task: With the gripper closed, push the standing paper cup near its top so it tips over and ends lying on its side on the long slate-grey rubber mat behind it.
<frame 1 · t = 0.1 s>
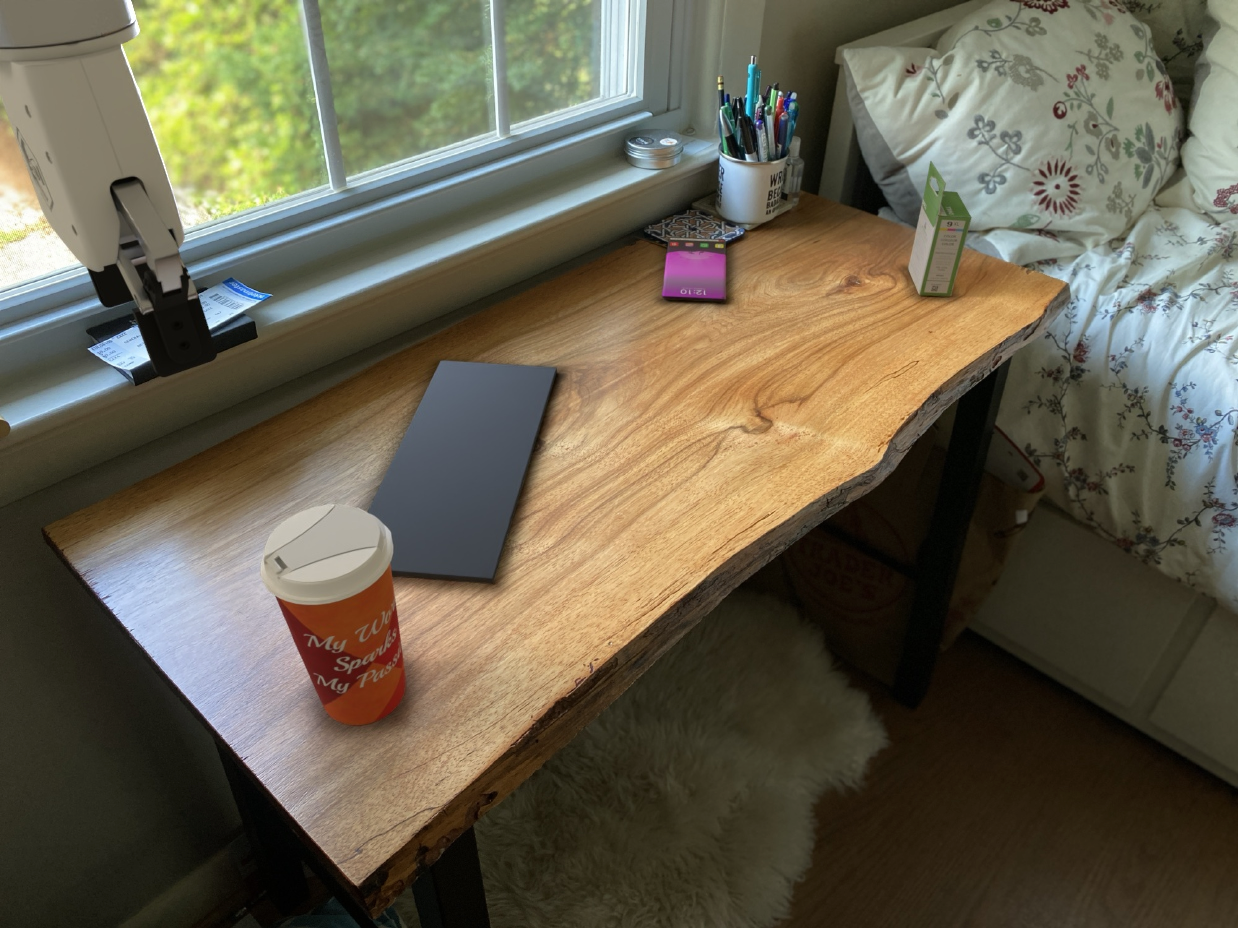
hand: (157, 331, 53), 24 cm above the table, tool pointing down, fingers open, 9 cm apart
smartphone: (695, 273, 112), on the table
paper cup: (366, 692, 63), on the table
ink box: (929, 284, 109), on the table
mat: (463, 458, 83), on the table
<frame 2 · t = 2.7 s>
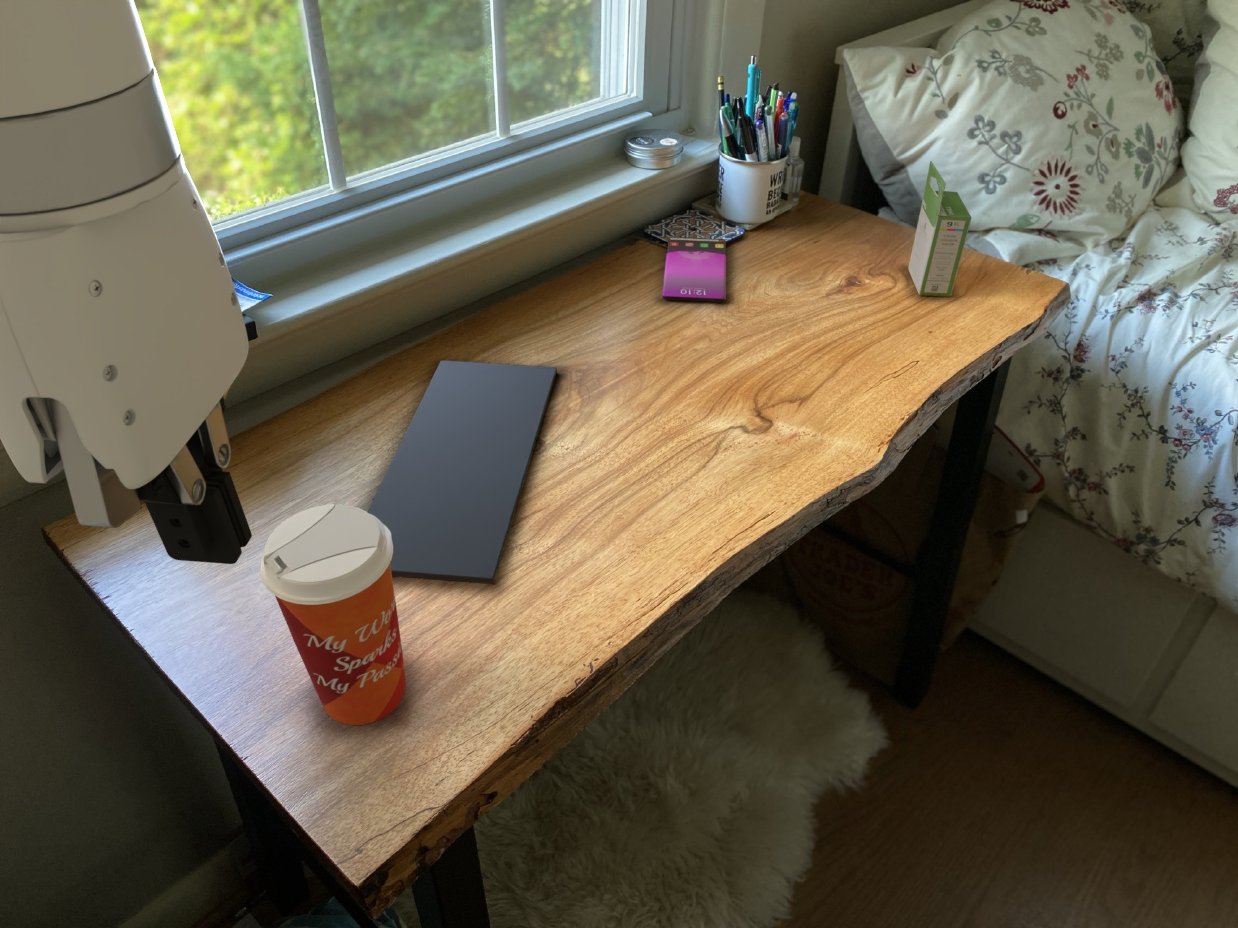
hand: (212, 548, 42), 23 cm above the table, tool pointing down, fingers closed
nothing on the table moved.
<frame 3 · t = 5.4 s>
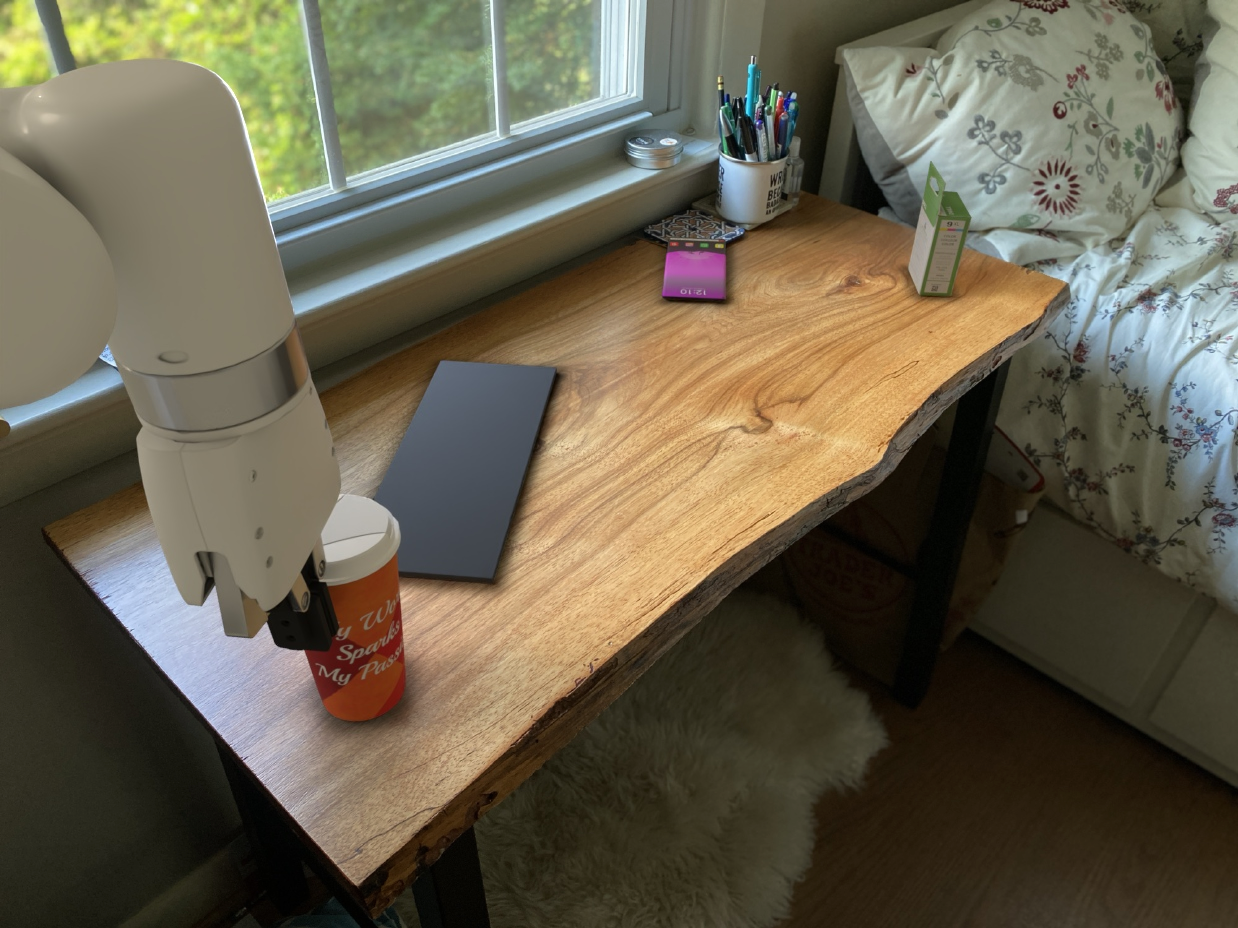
hand: (308, 638, 53), 11 cm above the table, tool pointing down, fingers closed
paper cup: (365, 690, 63), on the table, touching gripper
everything else where it was.
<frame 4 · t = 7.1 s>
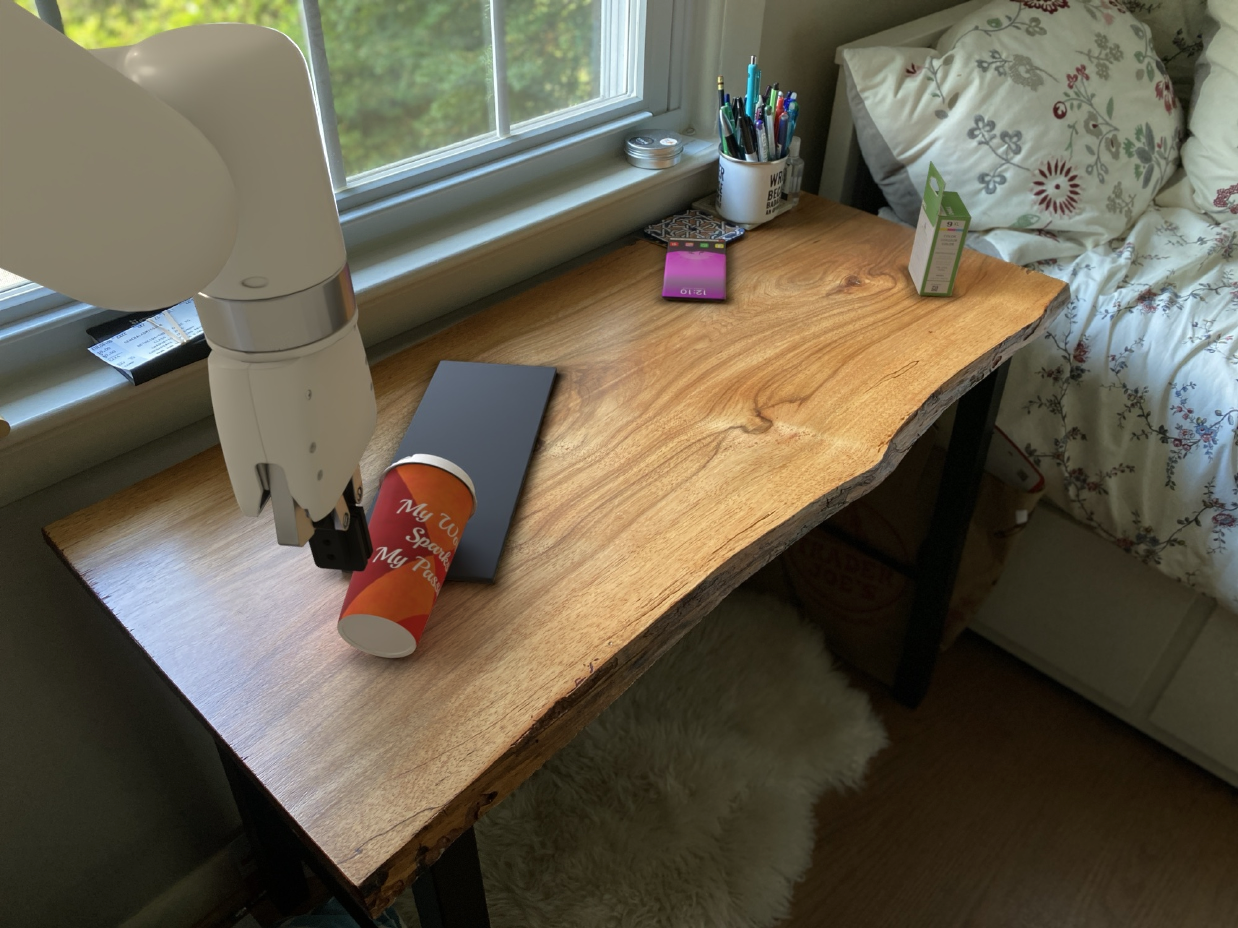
hand: (345, 560, 58), 11 cm above the table, tool pointing down, fingers closed
paper cup: (376, 639, 63), point 3 cm above the table, touching mat
everything else where it was.
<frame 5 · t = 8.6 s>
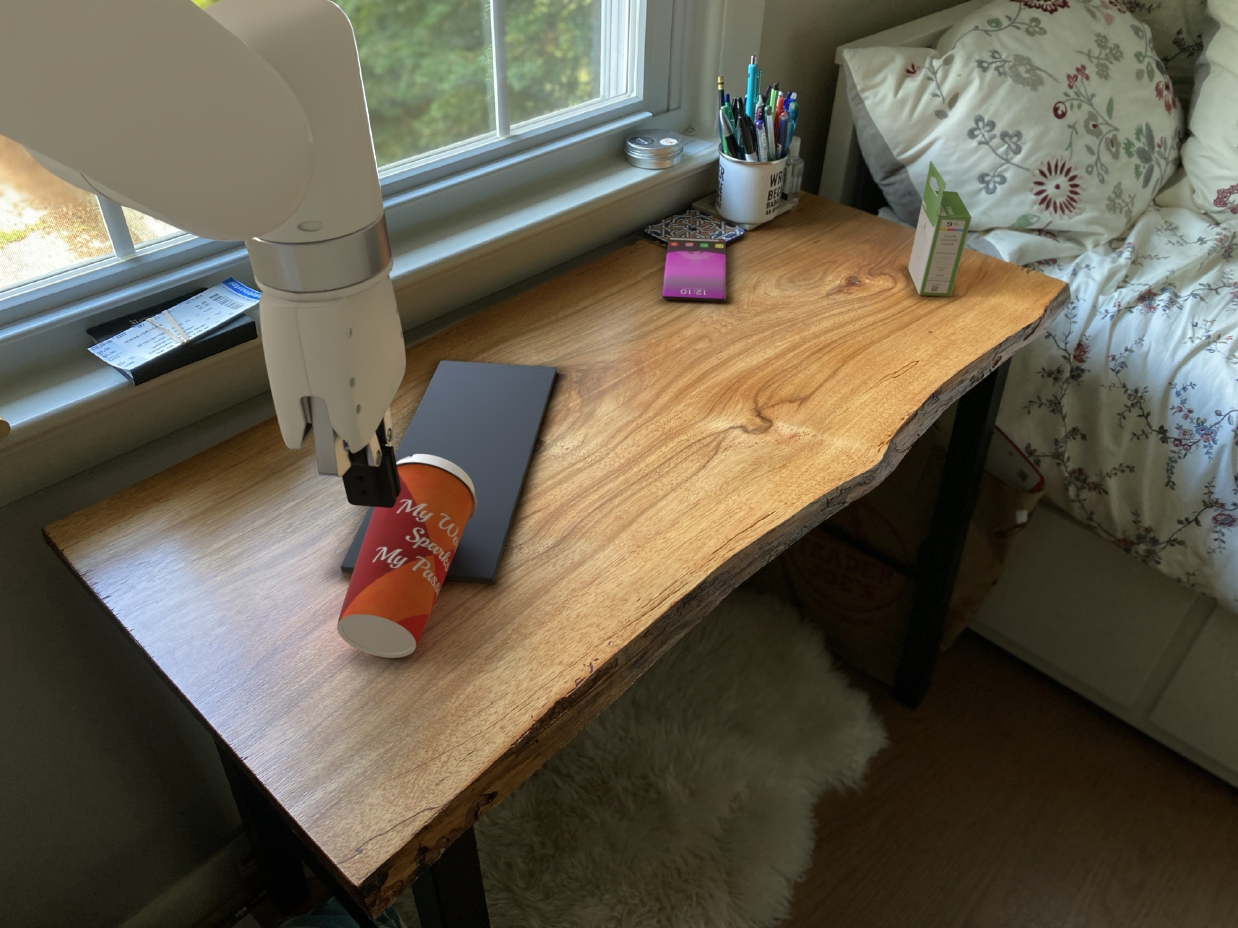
hand: (375, 498, 63), 11 cm above the table, tool pointing down, fingers closed
nothing on the table moved.
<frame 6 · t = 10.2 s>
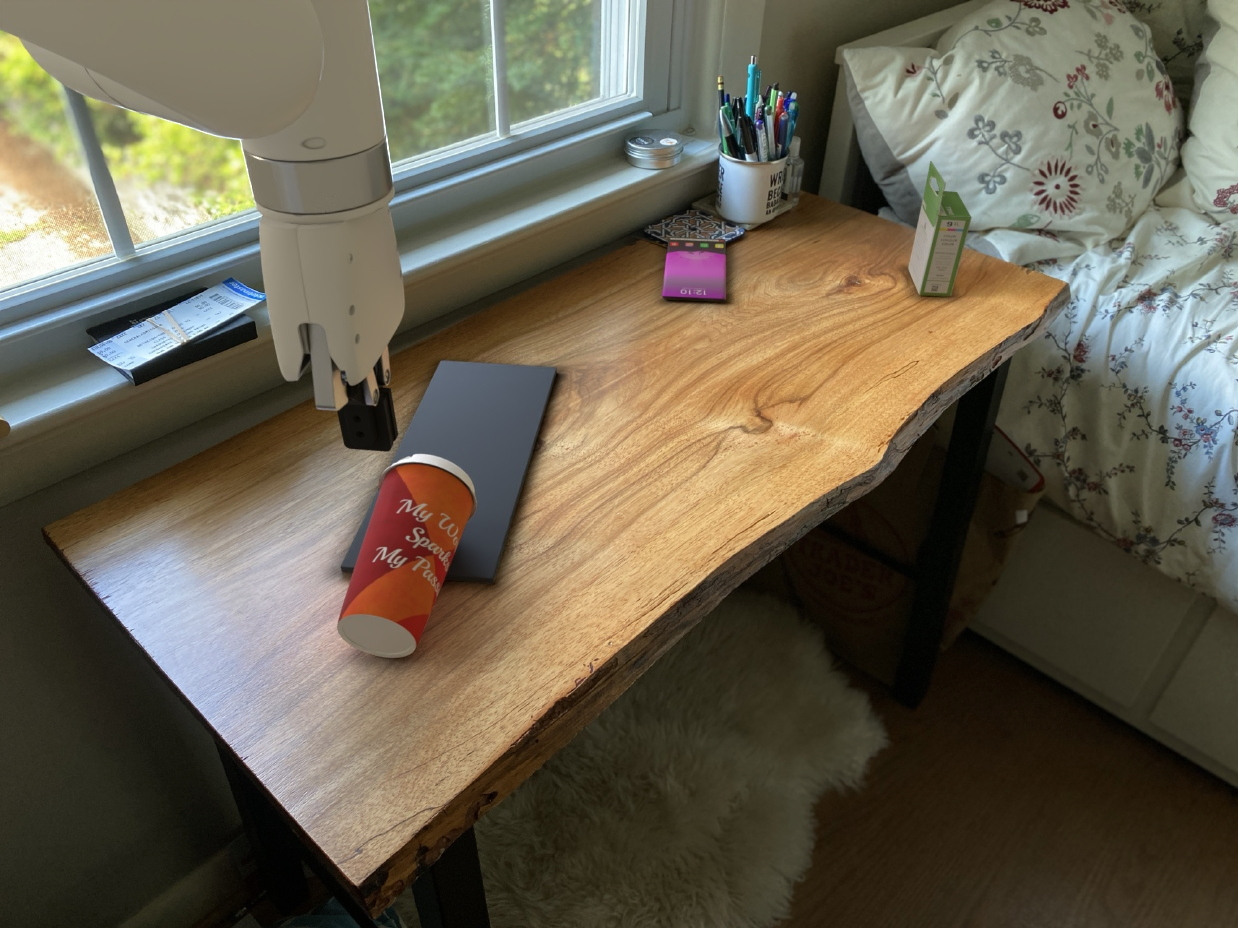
hand: (372, 442, 62), 14 cm above the table, tool pointing down, fingers closed
nothing on the table moved.
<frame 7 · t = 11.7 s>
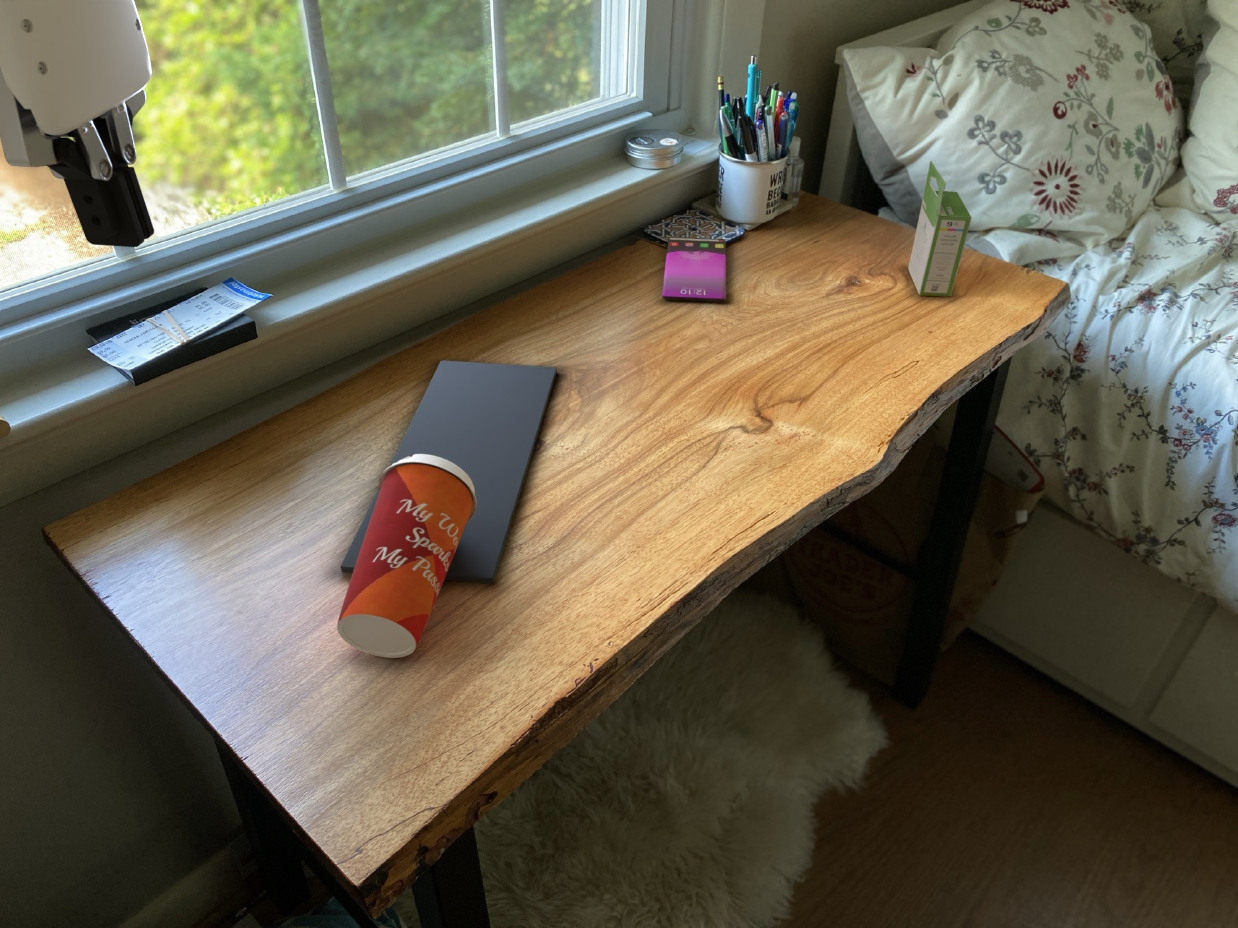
hand: (122, 239, 53), 29 cm above the table, tool pointing down, fingers closed
nothing on the table moved.
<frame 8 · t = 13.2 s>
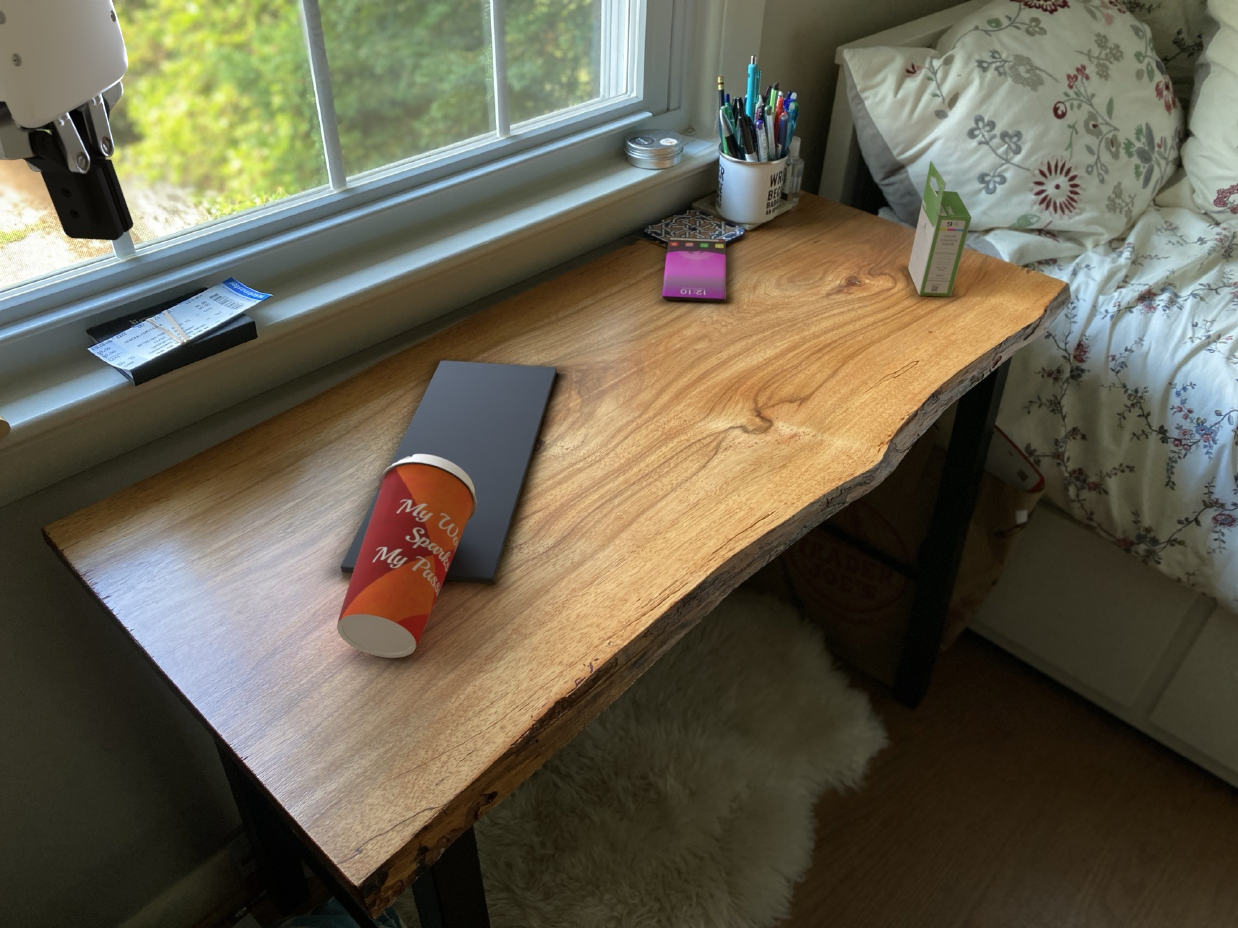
hand: (101, 232, 53), 29 cm above the table, tool pointing down, fingers closed
nothing on the table moved.
at the end: paper cup tilted 81°; paper cup touching mat, table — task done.
